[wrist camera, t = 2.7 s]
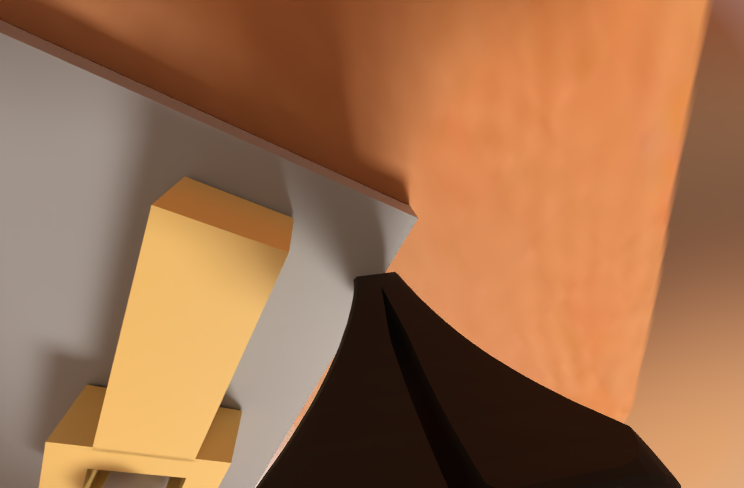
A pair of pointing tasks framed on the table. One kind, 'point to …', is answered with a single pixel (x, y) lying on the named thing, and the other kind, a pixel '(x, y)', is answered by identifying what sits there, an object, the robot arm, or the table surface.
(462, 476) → the robot arm
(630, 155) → the table surface
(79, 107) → the pintle board
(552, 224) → the table surface
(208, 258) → the link
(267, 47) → the table surface
